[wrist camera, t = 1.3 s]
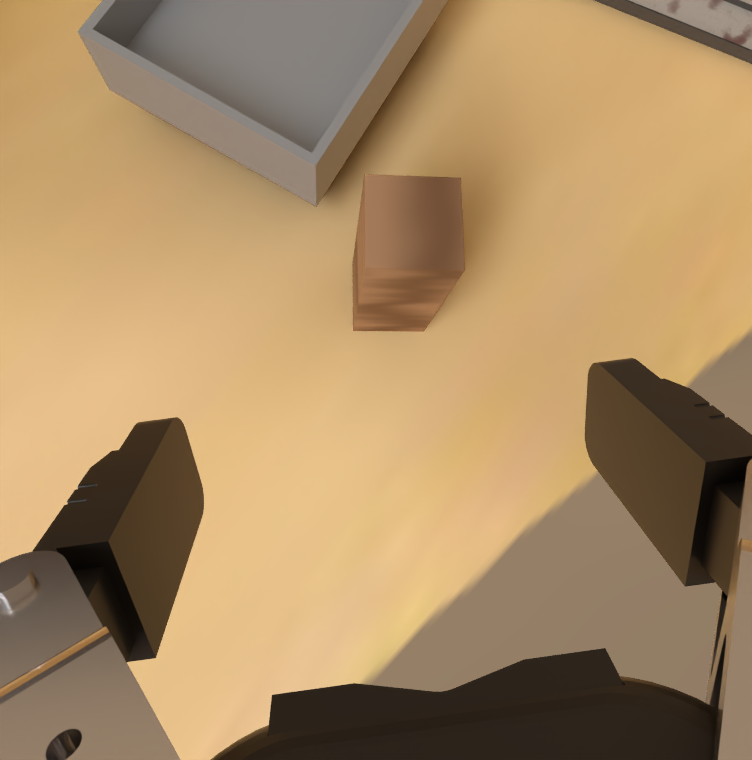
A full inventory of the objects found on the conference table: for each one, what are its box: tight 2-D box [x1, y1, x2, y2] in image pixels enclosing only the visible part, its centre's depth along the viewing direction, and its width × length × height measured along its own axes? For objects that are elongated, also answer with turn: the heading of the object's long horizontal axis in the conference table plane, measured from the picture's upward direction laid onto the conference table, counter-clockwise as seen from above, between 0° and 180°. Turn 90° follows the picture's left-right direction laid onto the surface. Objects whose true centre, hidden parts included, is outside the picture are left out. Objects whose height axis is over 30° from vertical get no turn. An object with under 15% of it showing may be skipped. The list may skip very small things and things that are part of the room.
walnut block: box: [353, 175, 465, 331], centre depth 34 cm, size 5×5×12 cm
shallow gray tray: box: [78, 0, 448, 207], centre depth 39 cm, size 16×20×8 cm
